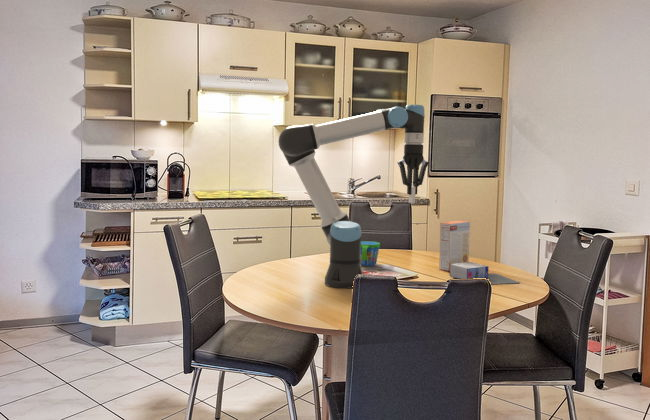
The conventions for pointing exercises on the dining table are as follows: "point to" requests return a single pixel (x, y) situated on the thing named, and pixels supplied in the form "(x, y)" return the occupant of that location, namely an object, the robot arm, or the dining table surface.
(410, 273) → the dining table surface
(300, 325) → the dining table surface
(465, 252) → the cracker box
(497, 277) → the mat
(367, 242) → the snack cup
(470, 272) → the ink cartridge box
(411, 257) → the dining table surface
